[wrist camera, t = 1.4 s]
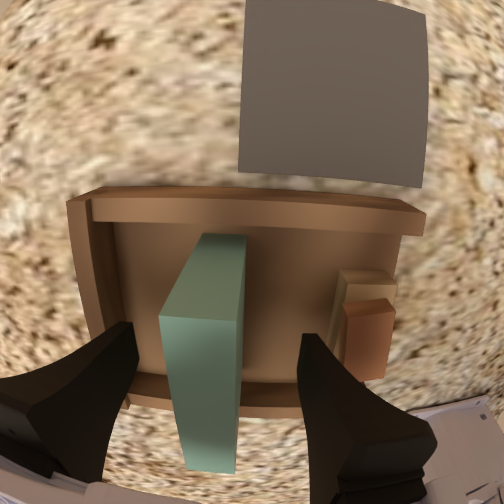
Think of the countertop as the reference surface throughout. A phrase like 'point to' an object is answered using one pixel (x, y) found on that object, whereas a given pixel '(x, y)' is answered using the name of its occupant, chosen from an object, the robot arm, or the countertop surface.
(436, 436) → the robot arm
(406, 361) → the countertop surface
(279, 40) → the mat
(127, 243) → the tray
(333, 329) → the offcut lower
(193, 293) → the block
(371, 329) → the offcut upper
